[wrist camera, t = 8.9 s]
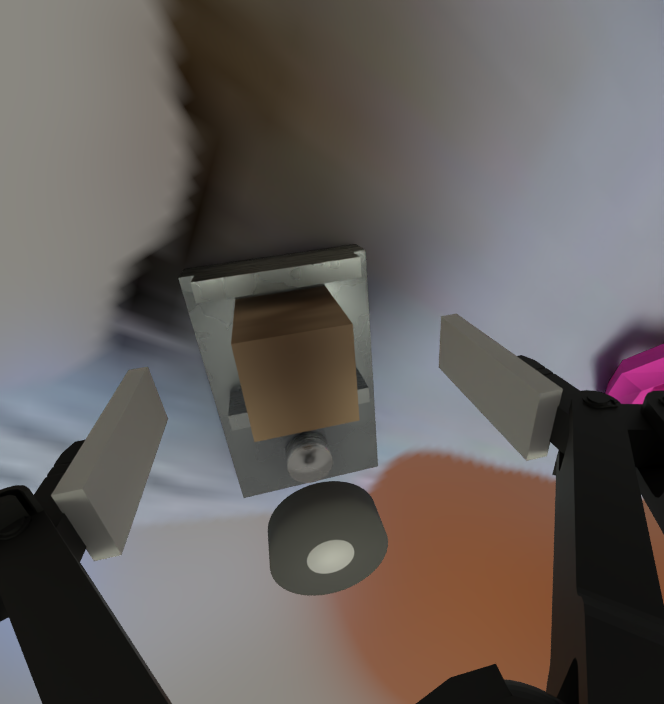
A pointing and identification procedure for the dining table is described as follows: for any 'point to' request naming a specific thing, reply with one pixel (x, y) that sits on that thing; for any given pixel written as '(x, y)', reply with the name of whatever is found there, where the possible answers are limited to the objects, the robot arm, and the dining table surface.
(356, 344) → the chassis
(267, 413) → the block
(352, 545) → the wheel
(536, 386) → the robot arm
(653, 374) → the toy
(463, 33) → the dining table surface
